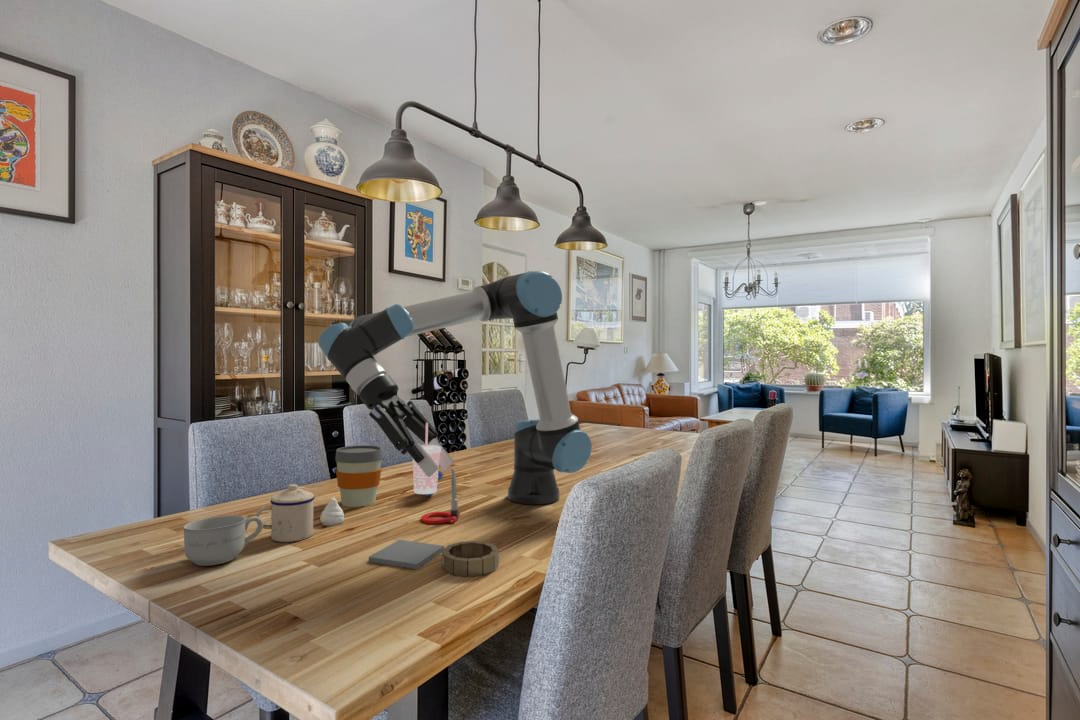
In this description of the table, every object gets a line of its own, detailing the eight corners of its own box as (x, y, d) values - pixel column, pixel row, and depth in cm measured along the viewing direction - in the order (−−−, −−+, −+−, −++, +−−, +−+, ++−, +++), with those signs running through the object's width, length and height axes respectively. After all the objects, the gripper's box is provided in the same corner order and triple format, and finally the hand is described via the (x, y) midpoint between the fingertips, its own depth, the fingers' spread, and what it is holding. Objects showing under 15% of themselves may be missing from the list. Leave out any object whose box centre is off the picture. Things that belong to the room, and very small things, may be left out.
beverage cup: (403, 492, 110) (405, 423, 110) (421, 486, 116) (423, 420, 116) (429, 496, 108) (431, 425, 108) (446, 489, 114) (448, 422, 113)
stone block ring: (473, 551, 117) (474, 537, 117) (509, 565, 109) (509, 550, 109) (431, 565, 109) (431, 550, 109) (466, 581, 101) (466, 565, 101)
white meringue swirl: (347, 499, 135) (325, 502, 131) (347, 523, 135) (325, 527, 131) (339, 494, 139) (317, 498, 135) (339, 518, 139) (316, 522, 135)
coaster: (399, 544, 121) (399, 539, 120) (444, 550, 117) (444, 545, 117) (368, 561, 110) (368, 556, 110) (416, 569, 107) (416, 564, 107)
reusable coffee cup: (363, 494, 162) (364, 443, 162) (391, 501, 155) (392, 448, 154) (325, 503, 152) (325, 449, 152) (353, 511, 144) (353, 454, 144)
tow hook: (417, 525, 135) (454, 525, 135) (415, 473, 135) (452, 472, 135) (426, 516, 144) (461, 515, 143) (424, 466, 144) (459, 465, 143)
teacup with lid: (312, 528, 131) (313, 479, 131) (315, 539, 122) (316, 487, 122) (256, 534, 125) (256, 483, 125) (254, 547, 117) (255, 492, 117)
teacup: (179, 575, 102) (180, 532, 102) (186, 555, 112) (186, 516, 112) (263, 563, 109) (263, 522, 109) (262, 545, 118) (263, 508, 118)
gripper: (387, 394, 125) (451, 472, 121) (332, 400, 107) (404, 492, 103) (408, 371, 124) (473, 449, 119) (356, 374, 106) (431, 466, 101)
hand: (441, 469), depth 111 cm, fingers closed on beverage cup, 6 cm apart
